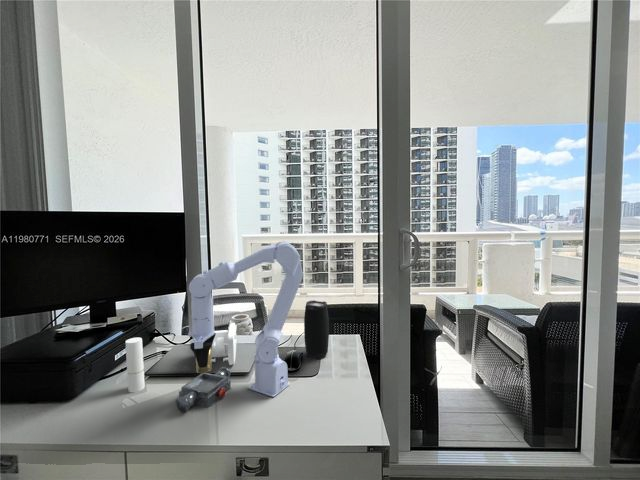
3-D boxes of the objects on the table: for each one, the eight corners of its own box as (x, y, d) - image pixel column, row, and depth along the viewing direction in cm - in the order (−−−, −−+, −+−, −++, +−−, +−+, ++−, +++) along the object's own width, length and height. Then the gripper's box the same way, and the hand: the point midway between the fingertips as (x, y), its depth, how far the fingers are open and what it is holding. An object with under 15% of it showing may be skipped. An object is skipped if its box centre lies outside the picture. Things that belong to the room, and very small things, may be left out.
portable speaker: (332, 351, 120) (332, 300, 119) (321, 362, 112) (321, 307, 110) (312, 347, 124) (311, 298, 122) (300, 357, 115) (299, 304, 114)
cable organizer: (208, 353, 121) (207, 323, 120) (237, 350, 123) (236, 320, 122) (203, 371, 106) (201, 337, 105) (236, 368, 108) (234, 334, 108)
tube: (137, 393, 94) (134, 343, 93) (124, 391, 95) (121, 342, 93) (148, 385, 98) (145, 337, 97) (135, 384, 99) (133, 337, 98)
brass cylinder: (215, 368, 93) (214, 348, 92) (203, 374, 89) (202, 353, 89) (205, 364, 95) (204, 345, 94) (193, 371, 91) (192, 350, 91)
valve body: (212, 376, 103) (211, 364, 103) (241, 382, 99) (241, 369, 99) (167, 408, 86) (167, 394, 85) (201, 417, 82) (200, 402, 82)
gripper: (193, 310, 97) (195, 353, 98) (181, 326, 83) (183, 376, 84) (217, 308, 98) (219, 351, 100) (209, 324, 84) (211, 374, 85)
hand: (204, 362), depth 92 cm, fingers closed on brass cylinder, 4 cm apart
